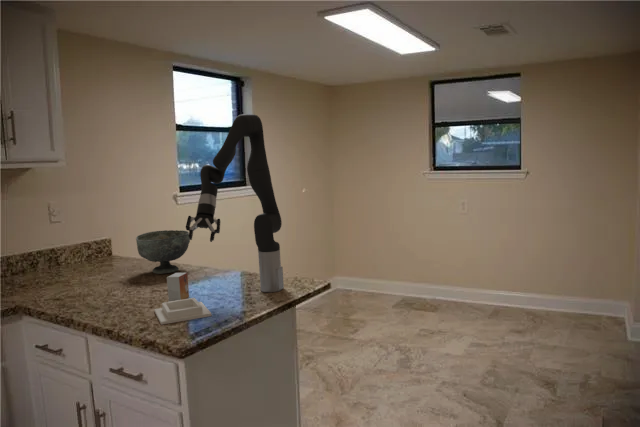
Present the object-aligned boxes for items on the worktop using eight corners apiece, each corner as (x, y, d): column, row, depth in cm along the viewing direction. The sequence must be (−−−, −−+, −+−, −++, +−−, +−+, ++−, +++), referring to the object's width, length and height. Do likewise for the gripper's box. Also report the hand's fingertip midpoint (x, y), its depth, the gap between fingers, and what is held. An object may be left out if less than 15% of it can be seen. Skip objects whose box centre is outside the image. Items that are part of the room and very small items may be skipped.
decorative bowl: (186, 262, 293) (182, 226, 290) (198, 271, 270) (194, 233, 267) (136, 271, 281) (131, 234, 278) (144, 281, 259) (139, 241, 256)
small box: (180, 302, 215) (178, 276, 214) (168, 302, 216) (166, 276, 215) (189, 296, 223) (187, 272, 222) (177, 296, 224) (175, 272, 223)
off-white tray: (201, 304, 211) (200, 295, 211) (211, 315, 195) (210, 306, 194) (154, 311, 204) (153, 302, 203) (161, 324, 187) (160, 315, 187)
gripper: (189, 200, 229) (182, 235, 221) (222, 204, 230) (217, 238, 222) (191, 208, 235) (185, 242, 228) (223, 211, 236) (218, 245, 229)
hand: (200, 240), depth 225 cm, fingers open, 8 cm apart
